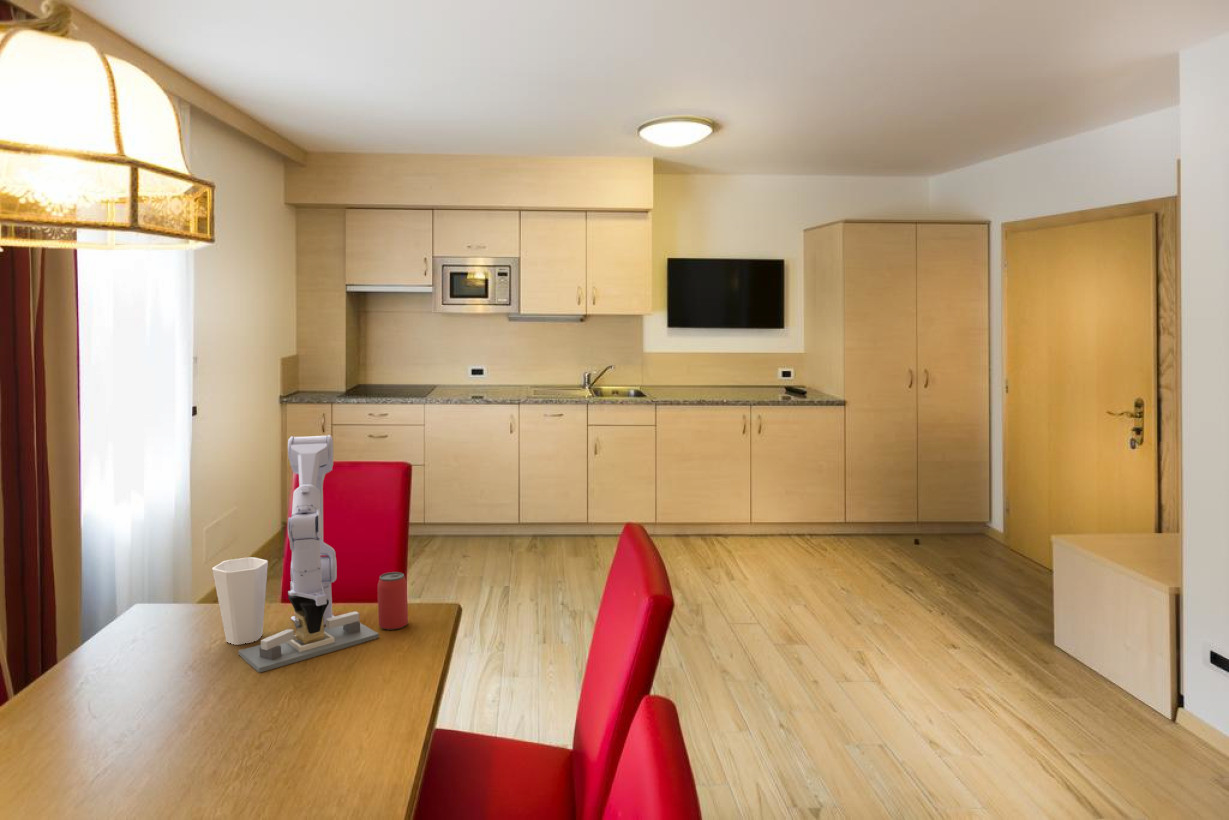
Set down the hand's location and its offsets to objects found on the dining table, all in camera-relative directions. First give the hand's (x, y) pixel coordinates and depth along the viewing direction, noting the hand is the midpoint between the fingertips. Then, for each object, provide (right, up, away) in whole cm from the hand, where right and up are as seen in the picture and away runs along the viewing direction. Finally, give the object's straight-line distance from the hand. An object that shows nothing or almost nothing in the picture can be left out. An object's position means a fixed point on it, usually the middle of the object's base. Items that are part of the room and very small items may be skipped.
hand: (309, 629), depth 174 cm
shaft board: (0, -4, 0) cm, 4 cm away
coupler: (0, -2, 0) cm, 2 cm away
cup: (-17, -4, +5) cm, 18 cm away
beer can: (+15, -3, +12) cm, 19 cm away
